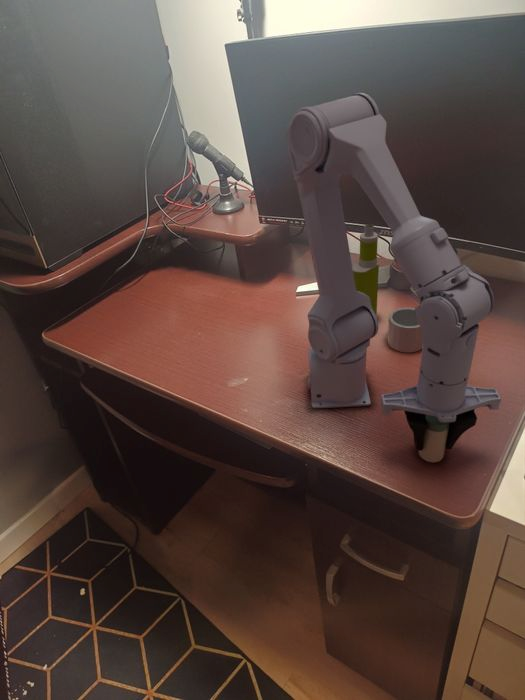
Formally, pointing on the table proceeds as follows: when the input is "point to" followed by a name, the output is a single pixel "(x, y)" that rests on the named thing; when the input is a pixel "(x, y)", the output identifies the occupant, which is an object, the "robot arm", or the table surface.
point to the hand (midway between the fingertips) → (432, 444)
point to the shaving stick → (434, 439)
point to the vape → (367, 266)
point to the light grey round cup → (404, 330)
